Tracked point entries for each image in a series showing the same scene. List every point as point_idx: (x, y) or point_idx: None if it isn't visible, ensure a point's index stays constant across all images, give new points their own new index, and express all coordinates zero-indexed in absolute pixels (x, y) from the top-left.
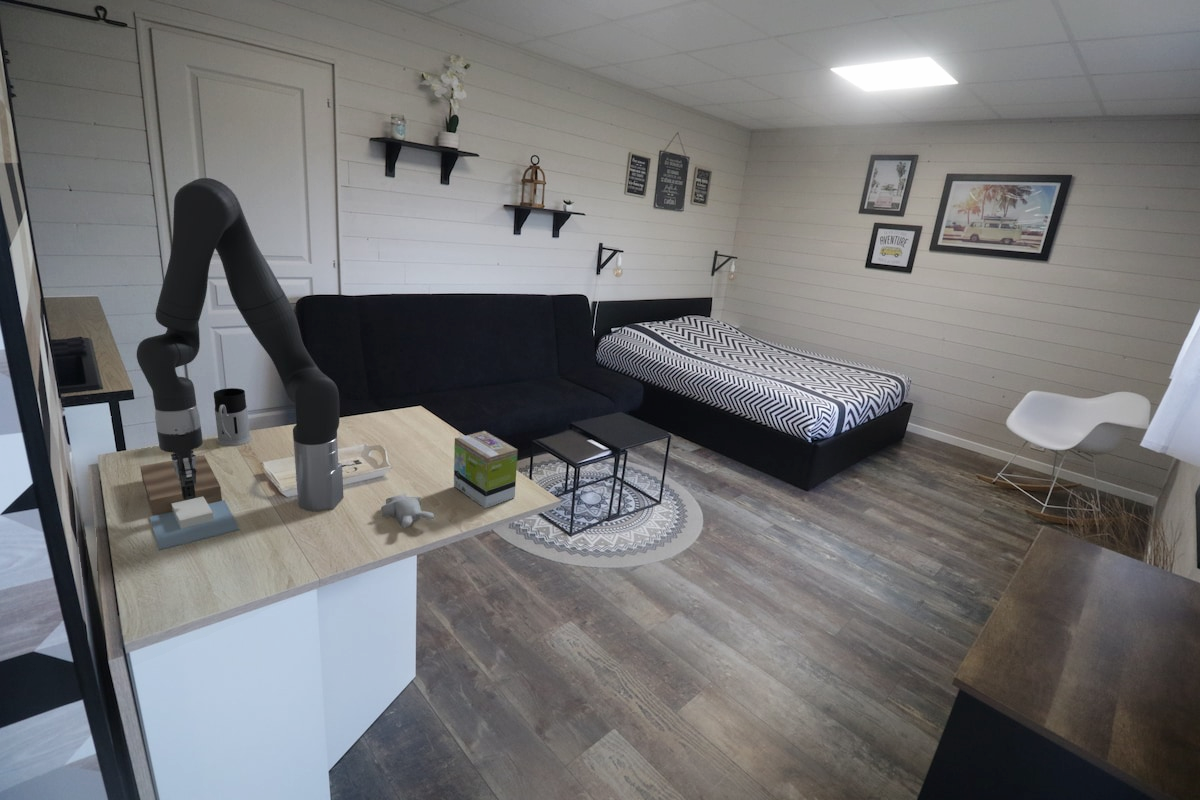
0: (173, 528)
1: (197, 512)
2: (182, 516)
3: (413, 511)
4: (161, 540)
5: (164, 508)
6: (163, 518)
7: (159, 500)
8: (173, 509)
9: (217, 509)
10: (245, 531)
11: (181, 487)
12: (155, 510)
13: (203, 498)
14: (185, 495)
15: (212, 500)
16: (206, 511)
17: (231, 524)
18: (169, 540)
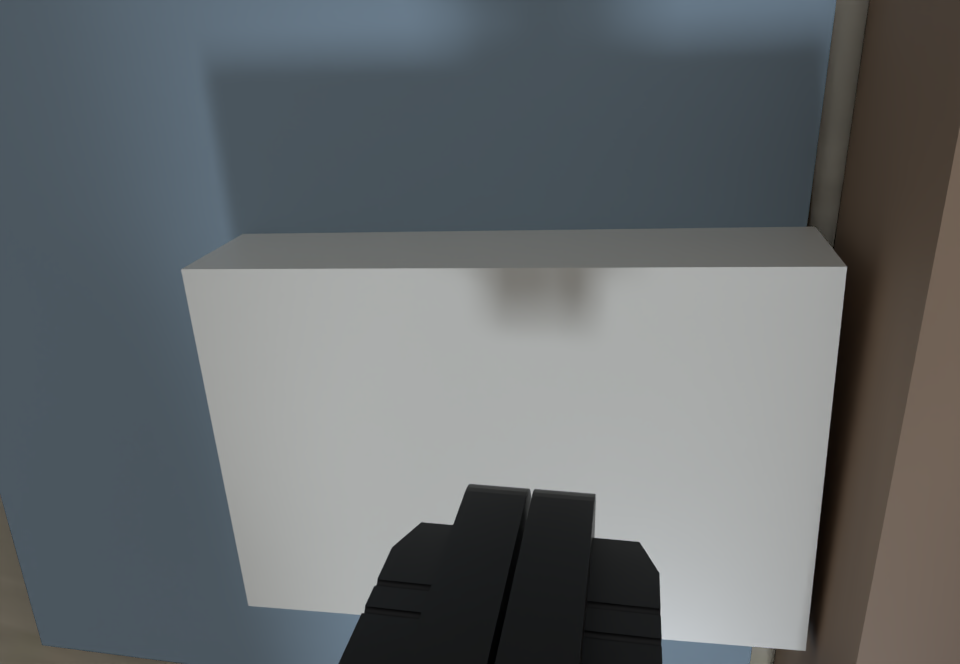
0: (287, 164)
1: (325, 485)
2: (291, 320)
3: None
4: (34, 2)
5: (874, 146)
6: (652, 91)
7: (943, 117)
8: (672, 255)
9: None
10: (11, 657)
11: (484, 661)
12: (891, 12)
13: (728, 634)
14: (405, 567)
15: (786, 657)
16: (312, 565)
17: (144, 623)
18: (9, 84)
